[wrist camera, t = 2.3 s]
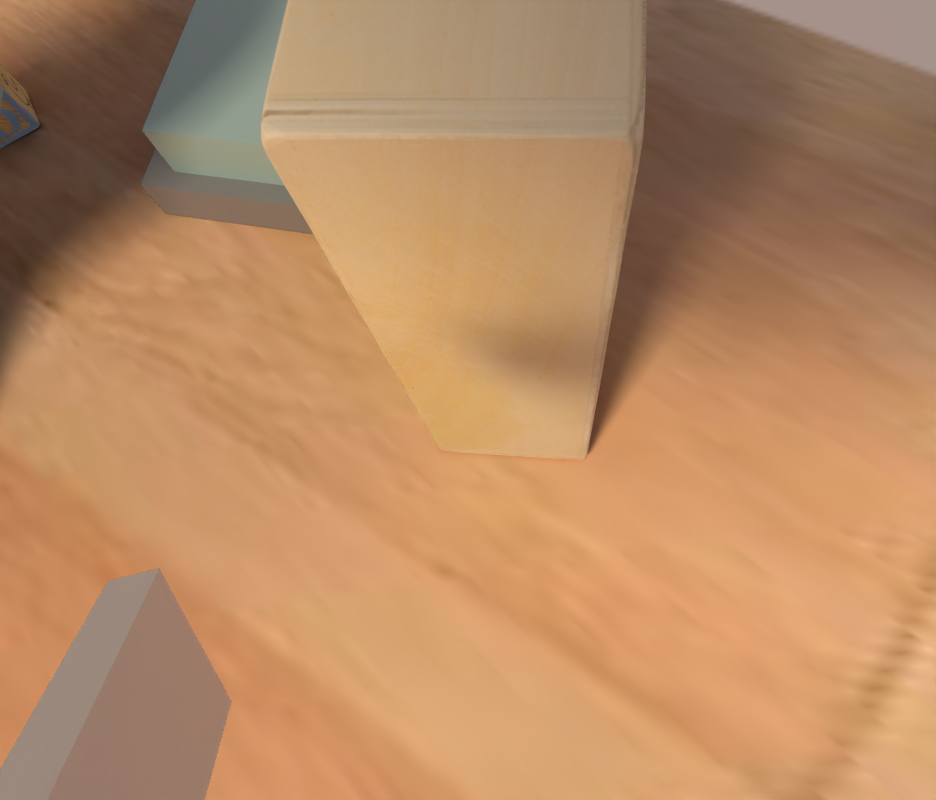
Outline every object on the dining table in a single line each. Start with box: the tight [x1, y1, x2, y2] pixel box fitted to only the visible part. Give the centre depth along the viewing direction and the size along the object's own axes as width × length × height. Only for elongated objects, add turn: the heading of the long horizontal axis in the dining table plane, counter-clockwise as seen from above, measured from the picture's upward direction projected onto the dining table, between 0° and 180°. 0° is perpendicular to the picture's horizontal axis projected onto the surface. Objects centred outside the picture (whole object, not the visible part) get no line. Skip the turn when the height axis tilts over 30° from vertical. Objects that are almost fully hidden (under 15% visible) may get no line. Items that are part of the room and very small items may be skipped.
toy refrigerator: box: [261, 0, 647, 460], centre depth 23 cm, size 8×7×21 cm
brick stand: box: [140, 0, 313, 234], centre depth 36 cm, size 15×15×6 cm
